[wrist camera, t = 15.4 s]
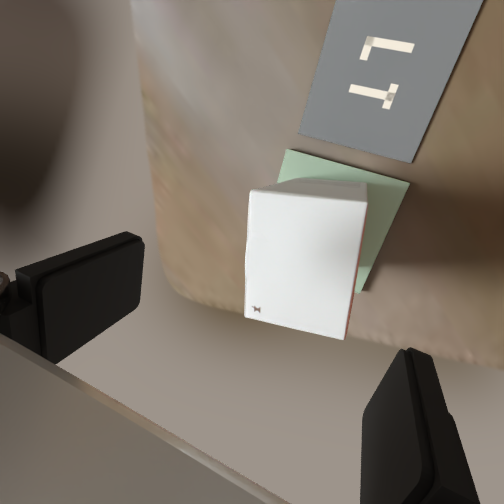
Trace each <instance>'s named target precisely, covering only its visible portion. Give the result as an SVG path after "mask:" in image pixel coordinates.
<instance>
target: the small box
mask: <svg viewBox="0 0 504 504" xmlns="http://www.w3.org/2000/svg"><path fill="white" fill-rule="evenodd" d="M368 204H369V203H368V197H367V183H365V182H352V181H338V180H324V179H311V178H295V179H291V180H287V181H284V182H281V183H277V184H273V185H269V186H266V187H262V188H258V189H252V190H251V191H250V195H249V210H248V229H247V245H246V255H245V312H244V314H245V317H247V318H252V319H256V320H260V321H264V322H268V323H272V324H276V325H281V326H285V327H289V328H293V329H298V330H302V331H306V332H311V333H315V334H319V335H323V336H328V337H333V338H337V339H341V340H345V338H346V334H347V329H348V324H349V319H350V313H351V308H352V302H353V297H354V291H355V285H356V279H357V273H358V267H359V261H360V255H361V248H362V242H363V236H364V231H365V225H366V218H367V211H368Z"/></svg>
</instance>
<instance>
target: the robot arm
mask: <svg viewBox="0 0 504 504" xmlns="http://www.w3.org/2000/svg"><path fill="white" fill-rule="evenodd" d="M144 249H145V244H144V243H143V241H142V238H141V237H140V236H137V235H134V234H132V233H130V232H127V231H126V232H122V233H119V234H116V235H114V236H111V237H108V238H105V239H102V240H99V241H96V242H94V243H91V244H88V245H85V246H82V247H79V248H76V249H73V250H70V251H68V252H65V253H62V254H59V255H56V256H53V257H50V258H47V259H45V260H42V261H39V262H36V263H33V264H30V265H28V266H25V267H22V268H19V269H16V270H15V273H16V280H15V281H12V282H10V278H9V276H8V275H7V274H6V273H4V272H1V271H0V504H290V503H288V502H287V501H285V500H284V499H282V498H280V497H279V496H277V495H276V494H274V493H272V492H270V491H269V490H267V489H265V488H264V487H262V486H260V485H259V484H257V483H255V482H254V481H252V480H250V479H249V478H247V477H245V476H243V475H242V474H240V473H239V472H237V471H235V470H234V469H232V468H230V467H228V466H227V465H225V464H223V463H222V462H220V461H218V460H217V459H215V458H213V457H212V456H210V455H208V454H207V453H205V452H203V451H202V450H200V449H198V448H196V447H195V446H193V445H191V444H190V443H188V442H186V441H185V440H183V439H181V438H180V437H178V436H176V435H175V434H173V433H171V432H169V431H168V430H166V429H164V428H163V427H161V426H159V425H158V424H156V423H154V422H152V421H151V420H149V419H147V418H146V417H144V416H142V415H141V414H139V413H137V412H135V411H134V410H132V409H130V408H129V407H127V406H125V405H123V404H122V403H120V402H118V401H117V400H115V399H113V398H111V397H110V396H108V395H106V394H105V393H103V392H101V391H100V390H98V389H96V388H94V387H93V386H91V385H89V384H88V383H86V382H84V381H82V380H81V379H79V378H77V377H76V376H74V375H72V374H70V373H69V372H67V371H65V370H63V369H62V368H60V367H58V366H57V365H55V364H57V363H59V362H60V361H61V360H63V359H64V358H66V357H67V356H69V355H70V354H72V353H73V352H74V351H76V350H77V349H79V348H80V347H82V346H83V345H84V344H86V343H87V342H89V341H90V340H92V339H93V338H95V337H96V336H97V335H99V334H100V333H102V332H103V331H105V330H106V329H107V328H109V327H110V326H112V325H113V324H115V323H116V322H118V321H119V320H120V319H122V318H123V317H125V316H126V315H128V314H129V313H131V312H132V311H133V310H135V309H136V308H137V307H138V305H139V303H140V295H141V284H142V271H143V260H144ZM360 504H480V501H479V498H478V495H477V492H476V489H475V485H474V482H473V479H472V476H471V472H470V469H469V466H468V463H467V459H466V456H465V453H464V450H463V447H462V444H461V440H460V437H459V434H458V430H457V427H456V424H455V421H454V419H453V417H452V415H451V414H450V413H448V410H447V406H446V403H445V399H444V396H443V393H442V389H441V386H440V383H439V379H438V376H437V373H436V369H435V366H434V362H433V359H432V357H431V356H430V355H428V354H426V353H423V352H421V351H418V350H416V349H413V348H411V347H410V348H408V349H407V350H403V349H400V350H399V352H398V353H397V355H396V357H395V358H394V360H393V362H392V363H391V365H390V367H389V369H388V370H387V372H386V374H385V375H384V377H383V379H382V381H381V382H380V384H379V386H378V387H377V389H376V391H375V393H374V394H373V396H372V398H371V399H370V401H369V403H368V405H367V406H366V408H365V410H364V413H363V419H362V452H361V489H360Z"/></svg>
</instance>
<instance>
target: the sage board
mask: <svg viewBox="0 0 504 504" xmlns="http://www.w3.org/2000/svg"><path fill="white" fill-rule="evenodd" d="M295 178H311V179H324V180H338V181H352V182H365V183H367V197H368V203H369V204H368V211H367V218H366V225H365V231H364V236H363V242H362V248H361V255H360V261H359V267H358V273H357V279H356V285H355V291H354V292H356V293H359V294H360V292H361V290H362V288H363V285H364V283H365V281H366V279H367V277H368V274H369V272H370V270H371V268H372V266H373V263H374V261H375V259H376V257H377V255H378V252H379V250H380V248H381V246H382V244H383V241H384V239H385V237H386V235H387V233H388V230H389V228H390V226H391V224H392V222H393V219H394V217H395V215H396V213H397V211H398V208H399V206H400V204H401V202H402V200H403V197H404V195H405V193H406V191H407V189H408V186H409V184H410V183H408V182H405V181H401V180H398V179H394V178H391V177H387V176H383V175H380V174H376V173H373V172H369V171H366V170H362V169H358V168H355V167H351V166H348V165H344V164H341V163H337V162H333V161H330V160H326V159H323V158H319V157H316V156H312V155H308V154H305V153H301V152H298V151H294V150H291V149H286V153H285V157H284V160H283V164H282V167H281V171H280V175H279V178H278V182H277V183H281V182H284V181H287V180H291V179H295Z"/></svg>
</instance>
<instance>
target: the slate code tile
mask: <svg viewBox="0 0 504 504" xmlns="http://www.w3.org/2000/svg"><path fill="white" fill-rule="evenodd" d="M482 2H483V0H336V2H335V6H334V9H333V13H332V16H331V20H330V23H329V27H328V30H327V34H326V37H325V41H324V44H323V48H322V51H321V55H320V58H319V62H318V65H317V69H316V72H315V76H314V79H313V83H312V86H311V90H310V93H309V97H308V100H307V104H306V107H305V111H304V114H303V118H302V121H301V125H300V128H299V132H298V134H301V135H305V136H309V137H313V138H316V139H320V140H324V141H328V142H331V143H335V144H339V145H343V146H347V147H350V148H354V149H358V150H362V151H366V152H369V153H373V154H377V155H381V156H385V157H388V158H392V159H396V160H400V161H404V162H407V163H411V162H412V160H413V157H414V155H415V153H416V151H417V148H418V146H419V144H420V142H421V139H422V137H423V135H424V133H425V130H426V128H427V126H428V124H429V121H430V119H431V117H432V115H433V112H434V110H435V108H436V106H437V103H438V101H439V99H440V96H441V94H442V92H443V90H444V87H445V85H446V83H447V81H448V78H449V76H450V74H451V72H452V69H453V67H454V65H455V63H456V60H457V58H458V56H459V54H460V51H461V49H462V47H463V45H464V42H465V40H466V38H467V36H468V33H469V31H470V29H471V27H472V24H473V22H474V20H475V18H476V15H477V13H478V11H479V9H480V6H481V4H482Z"/></svg>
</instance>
